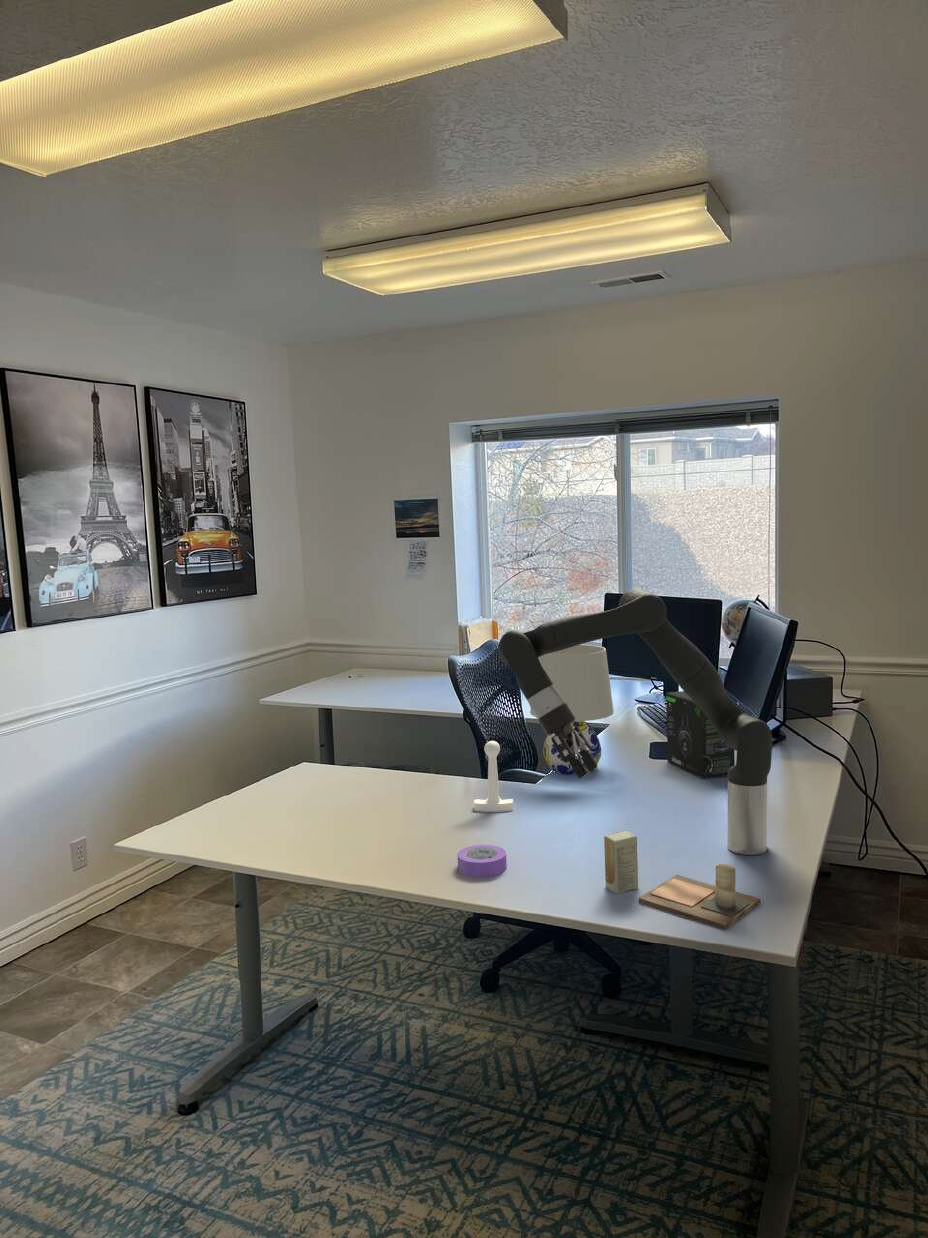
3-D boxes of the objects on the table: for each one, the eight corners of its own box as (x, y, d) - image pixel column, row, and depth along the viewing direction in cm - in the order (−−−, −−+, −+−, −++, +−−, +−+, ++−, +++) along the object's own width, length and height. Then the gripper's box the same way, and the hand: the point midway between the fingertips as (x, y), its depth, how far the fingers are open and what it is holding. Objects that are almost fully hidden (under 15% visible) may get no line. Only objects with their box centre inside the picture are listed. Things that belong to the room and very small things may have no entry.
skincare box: (628, 881, 201) (627, 829, 200) (639, 888, 197) (638, 835, 196) (603, 887, 199) (603, 834, 197) (614, 894, 195) (613, 840, 193)
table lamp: (612, 782, 275) (611, 655, 271) (526, 780, 281) (523, 655, 276) (615, 759, 302) (614, 643, 297) (536, 757, 307) (534, 643, 303)
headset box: (665, 761, 297) (665, 686, 294) (696, 758, 301) (697, 683, 298) (702, 780, 276) (703, 698, 273) (736, 775, 279) (736, 695, 276)
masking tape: (447, 869, 212) (447, 854, 211) (481, 855, 220) (481, 840, 220) (482, 882, 204) (482, 866, 203) (516, 867, 212) (516, 852, 211)
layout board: (676, 879, 202) (676, 839, 201) (760, 903, 188) (761, 861, 187) (638, 902, 190) (638, 860, 189) (725, 930, 177) (725, 885, 175)
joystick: (474, 812, 252) (472, 743, 250) (475, 803, 260) (473, 736, 257) (513, 811, 251) (511, 742, 249) (513, 803, 259) (511, 736, 257)
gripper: (554, 705, 192) (594, 770, 189) (573, 698, 205) (610, 759, 202) (527, 722, 195) (566, 787, 191) (547, 714, 208) (583, 775, 204)
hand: (588, 772), depth 197 cm, fingers open, 8 cm apart
